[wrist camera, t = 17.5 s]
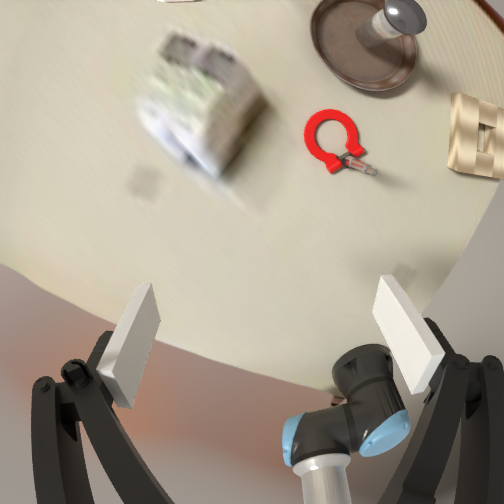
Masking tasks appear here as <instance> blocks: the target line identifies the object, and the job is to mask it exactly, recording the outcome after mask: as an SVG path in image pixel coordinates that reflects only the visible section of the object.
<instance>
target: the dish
mask: <svg viewBox="0 0 504 504" xmlns="http://www.w3.org/2000/svg"><path fill="white" fill-rule="evenodd" d="M157 1H162V2H182V1H195V0H157Z"/></svg>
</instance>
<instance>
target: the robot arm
mask: <svg viewBox="0 0 504 504" xmlns="http://www.w3.org/2000/svg"><path fill="white" fill-rule="evenodd" d="M372 314H373V316H374V318H375V320H376V321H377V323H378V325H379V327H380V329H381V331H382V333H383V335H384V337H385V339H386V341H387V343H388V345H389V348H390V350H391V352H392V354H393V356H394V358H395V360H396V362H397V364H398V366H399V368H400V371H401V373H402V375H403V377H404V379H405V382H406V384H407V386H408V388H409V390H410V393H411V394H416V393H420V392H424V391H425V389H426V387H427V386H428V384H429V386H430V388H431V391H430V393H429V394H428V396H427V398H426V399H425V400H424V403H425V402H426V403H425V406H424V409H423V411H422V414H421V416H420V419H419V421H418V424H417V427H416V429H415V431H414V433H413V436H412V438H411V440H410V442H409V445H408V447H407V449H406V451H405V453H404V455H403V457H402V460H401V462H400V464H399V466H398V468H397V470H396V471H395V473H394V475H393V477H392V479H391V481H390V483H389V484H388V486H387V488H386V490H385V492H384V493H383V495H382V497H381V498H380V500H379V502H378V504H435V502H436V499H435V497H434V494H435V491H436V489H437V486H438V484H439V482H440V479H441V477H442V474H443V471H444V469H445V466H446V463H447V461H448V458H449V455H450V451H451V449H452V445H453V442H454V439H455V436H456V432H457V429H458V425H459V422H460V418H461V446H460V462H459V472H458V480H457V488H456V495H455V501H454V504H504V370H503V366H502V363H501V361H500V360H499V359H498V358H496V357H495V356H492V355H488V356H486V357H484V359H483V361H482V362H481V363H475V362H470V361H469V360H468V359H467V358H466V357H465V356H463V355H461V354H456V353H455V352H454V350H453V349H452V347H451V345H450V344H449V343H448V341H447V339H446V338H445V336H443V333H442V332H441V331H440V329H439V328H438V326H437V325H436V323H435V322H433V321H432V320H431V319H430V318H422V316H421V315H420V313H419V312H418V310H417V309H416V308H415V306H414V305H413V303H412V302H411V300H410V299H409V298H408V296H407V295H406V293H405V292H404V291H403V289H402V288H401V286H400V285H399V284H398V282H397V281H396V280H395V278H394V277H393V275H381V276H380V281H379V285H378V290H377V294H376V299H375V303H374V307H373V311H372ZM160 321H161V320H160V316H159V312H158V308H157V304H156V300H155V296H154V292H153V288H152V284H151V283H139V284H138V286H137V288H136V290H135V292H134V293H133V295H132V297H131V299H130V301H129V303H128V305H127V307H126V309H125V311H124V313H123V315H122V316H121V318H120V320H119V322H118V324H117V327H116V328H115V330H114V331H105V332H104V333H103V334H102V335H101V336H100V337H99V339H98V341H97V343H96V346H95V347H94V349H93V352H92V353H91V355H90V357H89V359H88V361H87V363H85V362H84V361H83V360H81V359H74V360H70V361H68V362H67V363H65V365H64V366H63V367H62V370H61V376H62V377H63V379H64V380H65V382H62V383H55V381H54V380H53V379H52V378H51V377H49V376H43V377H41V378H39V379H38V380H37V381H36V382H35V383H34V385H33V389H32V409H31V410H32V411H31V439H32V441H31V442H32V461H33V473H34V483H35V490H36V497H37V504H95V503H94V500H93V496H92V492H91V488H90V484H89V479H88V474H87V469H86V464H85V459H84V454H83V448H82V441H81V434H80V427H79V421H82V423H83V425H84V427H85V430H86V432H87V435H88V437H89V439H90V441H91V444H92V445H93V448H94V450H95V452H96V454H97V456H98V458H99V460H100V462H101V464H102V466H103V468H104V470H105V472H106V473H107V475H108V477H109V479H110V481H111V482H112V484H113V486H114V488H115V489H116V491H117V493H118V494H119V496H120V498H121V499H122V501H123V502H124V504H175V503H174V502H173V501H172V500H171V498H170V497H169V496H168V494H167V493H166V492H165V490H164V489H163V488H162V486H161V485H160V484H159V482H158V481H157V479H156V478H155V477H154V475H153V474H152V473H151V471H150V470H149V468H148V467H147V465H146V464H145V462H144V461H143V459H142V458H141V456H140V454H139V453H138V452H137V450H136V448H135V447H134V445H133V443H132V442H131V440H130V438H129V437H128V435H127V433H126V432H125V430H124V428H123V426H122V425H121V423H120V421H119V419H118V417H117V416H116V414H115V412H114V410H113V408H112V407H111V406H112V403H113V400H114V401H115V403H116V405H117V406H118V407H123V408H129V409H132V408H133V404H134V401H135V397H136V394H137V391H138V388H139V384H140V381H141V378H142V375H143V372H144V369H145V365H146V362H147V359H148V356H149V353H150V350H151V347H152V344H153V341H154V338H155V335H156V333H157V330H158V327H159V324H160ZM332 376H333V379H334V383H335V384H336V386H337V387H338V388H339V390H340V391H341V392H342V394H343V395H344V396H345V398H346V399H347V402H348V403H346V404H342V405H338V406H334V407H330V408H326V409H322V410H318V411H313V412H309V413H308V412H305V413H303V414H300V415H296V416H292V417H290V418H288V420H287V421H286V422H285V424H284V428H283V438H282V447H283V457H284V461H285V463H286V465H287V466H290V467H293V472H294V473H295V474H297V475H298V476H300V477H301V478H302V487H303V496H304V504H352V503H351V497H350V492H349V487H348V482H347V477H346V472H345V468H346V466H347V465H348V464H349V462H350V461H351V458H350V454H351V453H354V452H358V451H359V452H360V454H361V455H362V456H364V457H369V456H375V455H378V454H381V453H383V452H385V451H387V450H389V449H391V448H393V447H394V446H395V445H397V444H398V443H400V442H401V441H402V440H403V439H404V438H405V437H406V436H407V434H408V433H409V431H410V427H411V424H410V420H409V417H408V412H407V410H406V409H405V406H404V404H403V401H402V399H401V396H400V394H399V392H398V390H397V387H396V385H395V382H394V380H393V362H392V357H391V355H390V353H389V351H388V349H387V348H385V347H384V346H382V345H377V344H369V345H364V346H360V347H357V348H355V349H353V350H351V351H349V352H347V353H346V354H344V355H343V356H342V357H341V358H340V359H339V360H338V361H337V362H336V363H335V365H334V367H333V370H332Z"/></svg>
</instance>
